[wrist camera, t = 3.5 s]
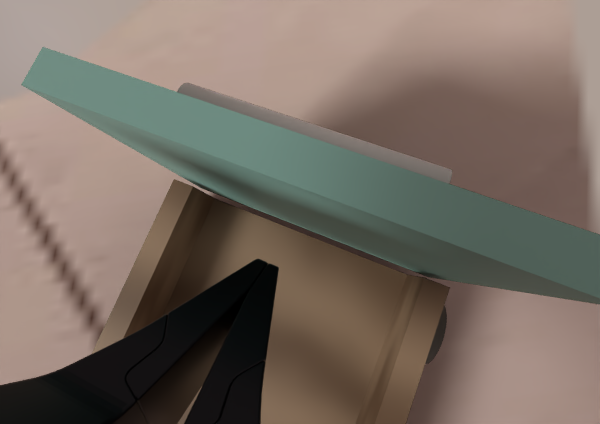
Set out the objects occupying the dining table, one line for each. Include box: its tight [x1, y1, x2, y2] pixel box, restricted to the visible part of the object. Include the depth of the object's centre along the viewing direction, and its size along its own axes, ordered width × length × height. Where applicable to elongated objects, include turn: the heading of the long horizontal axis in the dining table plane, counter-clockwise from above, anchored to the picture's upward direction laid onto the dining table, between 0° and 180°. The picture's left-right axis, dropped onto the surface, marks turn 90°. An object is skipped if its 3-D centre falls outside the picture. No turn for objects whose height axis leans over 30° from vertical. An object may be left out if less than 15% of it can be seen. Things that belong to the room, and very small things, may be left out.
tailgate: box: [22, 47, 600, 304], centre depth 12 cm, size 2×15×11 cm, turn 68°
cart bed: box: [92, 179, 450, 424], centre depth 16 cm, size 14×17×6 cm
